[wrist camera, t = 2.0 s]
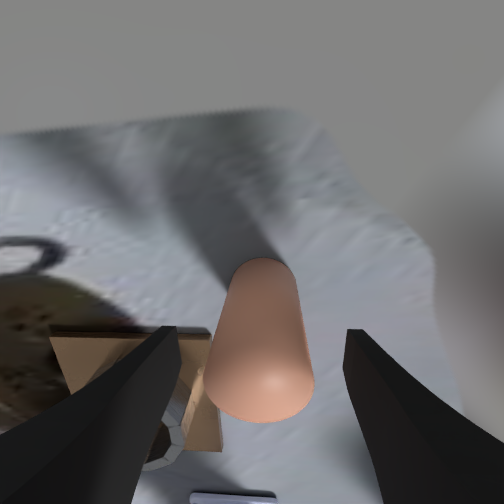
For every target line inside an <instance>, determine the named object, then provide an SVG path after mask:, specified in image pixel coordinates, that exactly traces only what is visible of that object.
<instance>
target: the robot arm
mask: <svg viewBox="0 0 504 504" xmlns="http://www.w3.org/2000/svg"><path fill="white" fill-rule="evenodd" d="M181 365H182V359H181V353H180V347H179V342H178V336H177V330H176V326H161V327H160V328H159V329H158V330H156V331H155V332H154V333H153V334H152V335H150V336H149V337H148V338H147V339H146V340H144V341H143V342H142V343H141V344H140V345H138V346H137V347H136V348H135V349H133V350H132V351H131V352H130V353H129V354H127V355H126V356H125V357H124V358H122V359H121V360H120V361H118V362H117V363H116V364H115V365H113V366H112V367H111V368H109V369H108V370H107V371H105V372H104V373H103V374H101V375H100V376H99V377H97V378H96V379H94V380H93V381H92V382H90V383H89V384H87V385H86V386H84V387H83V388H81V389H80V390H78V391H77V392H75V393H73V394H72V395H70V396H69V397H67V398H66V399H64V400H62V401H61V402H59V403H57V404H55V405H54V406H52V407H50V408H49V409H47V410H45V411H43V412H42V413H40V414H38V415H37V416H35V417H33V418H31V419H29V420H28V421H26V422H24V423H22V424H20V425H18V426H16V427H14V428H13V429H11V430H9V431H7V432H5V433H3V434H1V435H0V504H131V502H132V499H133V496H134V492H135V489H136V486H137V483H138V480H139V477H140V474H141V471H142V468H143V465H144V462H145V459H146V456H147V453H148V451H149V448H150V445H151V443H152V440H153V438H154V436H155V433H156V431H157V429H158V426H159V424H160V422H161V419H162V417H163V415H164V412H165V410H166V408H167V405H168V403H169V401H170V398H171V396H172V394H173V391H174V389H175V386H176V383H177V379H178V376H179V373H180V369H181ZM343 372H344V376H345V381H346V385H347V389H348V393H349V396H350V399H351V402H352V405H353V408H354V411H355V413H356V416H357V419H358V422H359V425H360V427H361V430H362V433H363V436H364V439H365V441H366V444H367V447H368V450H369V453H370V456H371V459H372V462H373V465H374V468H375V472H376V476H377V479H378V483H379V487H380V491H381V494H382V498H383V502H384V504H504V443H503V442H501V441H500V440H498V439H496V438H495V437H493V436H492V435H491V434H489V433H488V432H486V431H484V430H483V429H481V428H480V427H478V426H477V425H475V424H474V423H472V422H471V421H470V420H468V419H467V418H465V417H464V416H463V415H461V414H460V413H458V412H457V411H456V410H454V409H453V408H452V407H450V406H449V405H448V404H446V403H445V402H444V401H442V400H441V399H440V398H438V397H437V396H436V395H435V394H433V393H432V392H431V391H429V390H428V389H427V388H426V387H425V386H424V385H422V384H421V383H420V382H419V381H418V380H416V379H415V378H414V377H413V376H412V375H410V374H409V373H408V372H407V371H406V370H405V369H404V368H403V367H401V366H400V365H399V364H398V363H397V362H396V361H395V360H394V359H393V358H392V357H391V356H390V355H389V354H387V353H386V352H385V351H384V350H383V349H382V348H381V347H380V346H379V345H378V344H377V343H376V342H375V341H374V340H373V339H372V338H371V337H370V336H369V335H368V334H367V333H366V332H365V331H364V330H363V329H347V336H346V344H345V352H344V360H343ZM190 504H278V500H277V499H275V498H268V497H253V496H238V495H223V494H208V493H192V494H191V495H190Z"/></svg>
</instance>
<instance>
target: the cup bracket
mask: <svg viewBox="0 0 504 504" xmlns="http://www.w3.org/2000/svg"><path fill="white" fill-rule="evenodd" d="M152 334H153V333H114V332H63V331H56V332H54V333H53V334H52V335H51V336H50V337H49V338H50V341H51V343H52V346H53V349H54V351H55V354H56V356H57V359H58V362H59V364H60V367H61V369H62V372H63V375H64V377H65V380H66V382H67V385H68V388H69V390H70V393H71V395H72V394H73V393H75V392H77V391H78V390H80V389H81V388H83V387H84V386H86V385H87V384H89V383H90V382H92V381H93V380H94V379H96V378H97V377H99V376H100V375H101V374H103V373H104V372H105V371H107V370H108V369H109V368H111V367H112V366H113V365H115V364H116V363H117V362H118V361H120V360H121V359H122V358H124V357H125V356H126V355H127V354H129V353H130V352H131V351H132V350H133V349H135V348H136V347H137V346H138V345H140V344H141V343H142V342H143V341H144V340H146V339H147V338H148V337H149V336H150V335H152ZM177 336H178V342H179V347H180V353H181V359H182V365H181V369H180V373H179V376H178V379H177V383H176V386H175V389H174V391H173V394H172V396H171V398H170V401H169V403H168V405H167V408H166V410H165V412H164V415H163V417H162V419H161V422H160V424H159V426H158V429H157V431H156V433H155V436H154V438H153V440H152V443H151V445H150V448H149V451H148V453H147V456H146V459H145V462H144V465H143V468H142V471H153V470H156V469H159V468H161V467H164V466H167V465H170V464H172V463H174V461H175V460H176V458H177V457H178V455H179V454H180V453H181V451H182V450H191V451H210V452H222V449H223V438H222V428H221V419H220V410H219V408H218V407H217V406H216V405H215V404H214V403H213V402H212V401H211V400H210V398H209V397H208V395H207V393H206V391H205V388H204V384H203V372H204V368H205V365H206V362H207V358H208V355H209V352H210V349H211V345H212V335H211V334H177Z"/></svg>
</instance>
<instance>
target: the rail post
mask: <svg viewBox="0 0 504 504" xmlns="http://www.w3.org/2000/svg"><path fill="white" fill-rule="evenodd" d="M203 384H204V388H205V391H206V393H207V395H208V397H209V398H210V400H211V401H212V402H213V403H214V404H215V405H216V406H217V407H218V408H219V409H220V410H222V411H223V412H225V413H226V414H228V415H230V416H232V417H235V418H237V419H240V420H244V421H248V422H255V423H270V422H276V421H281V420H284V419H287V418H289V417H291V416H293V415H295V414H297V413H298V412H299V411H301V410H302V409H303V408H304V407H305V406H306V405H307V404H308V402H309V401H310V399H311V397H312V394H313V392H314V376H313V371H312V366H311V360H310V355H309V349H308V344H307V339H306V333H305V328H304V323H303V317H302V312H301V307H300V301H299V296H298V291H297V285H296V280H295V277H294V275H293V273H292V272H291V271H290V269H289V268H288V267H287V266H285V265H284V264H283V263H281V262H279V261H277V260H274V259H270V258H256V259H252V260H249V261H247V262H245V263H243V264H242V265H241V266H240V267H239V268H238V269H237V270H236V271H235V273H234V274H233V277H232V280H231V283H230V286H229V290H228V293H227V296H226V299H225V303H224V306H223V309H222V312H221V316H220V319H219V322H218V326H217V329H216V332H215V335H214V339H213V342H212V345H211V349H210V352H209V355H208V358H207V362H206V365H205V368H204V372H203Z"/></svg>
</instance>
